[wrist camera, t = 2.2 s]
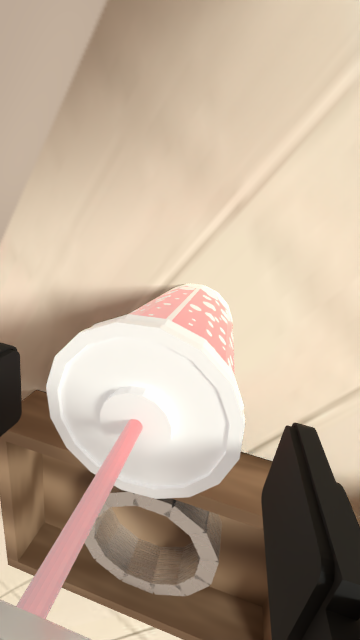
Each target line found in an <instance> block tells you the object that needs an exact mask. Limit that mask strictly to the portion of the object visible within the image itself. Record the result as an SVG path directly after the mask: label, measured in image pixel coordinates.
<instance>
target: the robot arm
mask: <svg viewBox="0 0 360 640" xmlns="http://www.w3.org/2000/svg"><path fill="white" fill-rule="evenodd" d="M21 415H22V404H21V376H20V355H19V353H18V352H17V349H16V347H14V346H11V345H7V344H4V343H0V437H1V436H2V435H3V434H4V433H6V432H7V431H8V430H9V429H10V428H12V427H13V426H14V425H15V424H16V423H17V422H18V421H19V419H20V417H21ZM261 504H262V517H263V530H264V544H265V557H266V570H267V583H268V597H269V610H270V623H271V636H272V640H360V527H359V524H358V522H357V519H356V517H355V515H354V512H353V510H352V507H351V505H350V502H349V500H348V497H347V495H346V492H345V490H344V489H343V487H342V486H341V485H340V484H339V483H336V481H335V479H334V476H333V473H332V471H331V468H330V466H329V463H328V460H327V458H326V455H325V453H324V450H323V447H322V445H321V442H320V439H319V437H318V434H317V432H316V430H315V428H313V427H309V426H306V425H302V424H298V423H293V425H292V427H291V426H286V427H285V429H284V432H283V435H282V437H281V440H280V443H279V446H278V448H277V451H276V454H275V456H274V459H273V462H272V465H271V467H270V470H269V473H268V476H267V478H266V481H265V484H264V486H263V490H262V496H261ZM0 640H91V639H89V638H87V637H84V636H82V635H80V634H78V633H75V632H73V631H71V630H69V629H66V628H64V627H62V626H59V625H57V624H55V623H53V622H50V621H48V620H46V619H44V618H41V617H39V616H37V615H35V614H32V613H30V612H28V611H25V610H23V609H21V608H18V607H16V606H14V605H12V604H9V603H7V602H5V601H2V600H0Z"/></svg>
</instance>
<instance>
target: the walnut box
mask: <svg viewBox="0 0 360 640" xmlns="http://www.w3.org/2000/svg"><path fill="white" fill-rule="evenodd" d="M21 404H22V415H21V417H20V419H19V421H18V422H17V423H16V424H15V425H14V426H13V427H12V428H10V429H9V430H8V431H7V432H6V433H4V434H3V435H2V436H1V437H0V500H1V508H2V517H3V525H4V534H5V542H6V550H7V559H8V565H10V566H12V567H15V568H17V569H20V570H22V571H24V572H27V573H29V574H31V575H34V576H35V574H36V573H37V571H38V569H39V568H40V566H41V564H42V563H43V561H44V560H45V558H46V556H47V555H48V553H49V551H50V550H51V548H52V546H53V545H54V543H55V541H56V540H57V538H58V536H59V535H60V533H61V531H62V530H63V528H64V526H65V525H66V523H67V522H68V520H69V518H70V517H71V515H72V513H73V512H74V510H75V508H76V507H77V505H78V503H79V502H80V500H81V498H82V497H83V495H84V493H85V492H86V490H87V488H88V487H89V485H90V484H91V482H92V480H93V479H94V477H95V474H93V473H92V472H90V471H89V470H88V469H87V468H86V467H85V466H84V465H83V464H82V463H81V462H80V461H79V460H78V459H77V458H76V457H75V456H74V455H73V454H72V453H71V452H70V451H69V450H68V449H67V448H66V446H65V444H64V442H63V440H62V438H61V437H60V435H59V433H58V431H57V429H56V427H55V425H54V423H53V422H52V420H51V418H50V411H49V404H48V397H47V393H45V392H42V391H38V390H36V391H34V392H33V393H32V394H30V395H29V396H28V397H27V398H25V399H24V400H23V401H21ZM271 465H272V461H269V460H265V459H262V458H259V457H256V456H252V455H249V454H246V453H242V452H241V453H240V459H239V460H238V461H237V463H236V464H235V465H234V466H233V468H232V469H231V470H230V471H229V472H228V474H227V475H226V476H225V477H224V479H223V480H222V481H221V482H220V484H218V485H216V486H214V487H211V488H209V489H207V490H205V491H202V492H200V493H198V494H196V495H194V496H191V497H185V498H172V499H175V500H178V501H180V502H183V503H186V504H189V505H192V506H195V507H198V508H201V509H204V510H207V511H209V512H212V513H215V514H218V515H219V517H220V519H221V521H222V530H221V542H220V554H219V564H218V567H217V569H216V572H215V575H214V578H213V581H212V584H210V586H208V587H206V588H204V589H202V590H200V591H197V592H195V593H193V594H191V595H189V596H186V595H185V596H171V595H155V594H154V592H153V594H152V593H149V592H147V591H144V590H142V589H139V588H137V587H134V586H132V585H130V584H127V583H125V582H122V580H119V579H118V578H117V577H115V576H114V575H113V574H112V573H110V572H109V571H108V570H107V569H105V568H104V567H103V566H102V565H100V564H99V563H98V562H97V561H96V559H94V558H93V556H92V555H91V553H90V551H89V550H88V548H87V546H86V545H85V543H84V544H83V546H82V548H81V550H80V552H79V554H78V556H77V558H76V560H75V562H74V564H73V566H72V568H71V570H70V572H69V574H68V576H67V578H66V580H65V582H64V583H63V585H62V588H64V589H66V590H69V591H71V592H73V593H76V594H78V595H80V596H83V597H85V598H87V599H90V600H92V601H94V602H97V603H99V604H101V605H104V606H106V607H108V608H111V609H113V610H115V611H118V612H120V613H122V614H125V615H127V616H129V617H132V618H134V619H137V620H139V621H141V622H144V623H146V624H148V625H151V626H153V627H155V628H158V629H160V630H162V631H165V632H167V633H169V634H172V635H174V636H176V637H179V638H181V639H183V640H272V636H271V623H270V610H269V597H268V583H267V570H266V557H265V544H264V530H263V517H262V504H261V496H262V490H263V486H264V484H265V481H266V478H267V476H268V473H269V470H270V467H271ZM111 508H112V509H113V511H114V513H115V515H116V517H117V519H118V521H119V522H120V524H122V525H123V526H124V527H125V528H126V529H128V530H129V531H130V532H131V533H133V534H134V535H135V536H136V537H137V538H139V539H142V540H144V541H147V542H150V543H152V544H155V545H158V546H160V547H185V546H187V545H188V544H190V543H192V539H191V537H190V536H189V535H188V534H187V533H186V532H184V531H183V530H182V529H181V528H180V527H178V526H177V525H176V524H175V523H174V522H172V521H171V520H170V519H169V518H167V517H166V516H164V515H161V514H158V513H155V512H153V511H150V510H147V509H144V508H141V507H139V506H122V507H111Z"/></svg>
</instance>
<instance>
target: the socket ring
mask: <svg viewBox="0 0 360 640" xmlns="http://www.w3.org/2000/svg"><path fill="white" fill-rule="evenodd" d="M122 506H139V507H141V508H144V509H147V510H150V511H153V512H155V513H158V514H161V515H164V516H166V517H167V518H169V519H170V520H171V521H172V522H174V523H175V524H176V525H177V526H178V527H180V528H181V529H182V530H183V531H184V532H186V533H187V534H188V535H189V536H190V537H191V539H192V543H190V544H188V545H187V546H185V547H160V546H158V545H155V544H152V543H150V542H147V541H144V540H142V539H139V538H137V537H136V536H135V535H134V534H133V533H131V532H130V531H129V530H128V529H126V528H125V527H124V526H123V525H122V524H120V522H119V521H118V519H117V517H116V515H115V513H114V511H113V509H112V508H111V507H122ZM221 530H222V521H221V519H220V517H219V515H218V514H215V513H212V512H209V511H207V510H204V509H201V508H198V507H195V506H192V505H189V504H186V503H183V502H180V501H178V500H175V499H172V498H164V499H154V498H150V497H147V496H143V495H139V494H135V493H131V492H128V491H124V490H121V489H119V488H117V487H116V486H113V488H112V490H111V492H110V494H109V496H108V497H107V499H106V501H105V503H104V505H103V507H102V509H101V511H100V513H99V515H98V517H97V519H96V521H95V523H94V525H93V527H92V529H91V531H90V533H89V535H88V537H87V539H86V540H85V542H84V543H85V545H86V546H87V548H88V550H89V551H90V553H91V555H92V556H93V558H94V559H96V561H97V562H98V563H99V564H100V565H102V566H103V567H104V568H105V569H107V570H108V571H109V572H110V573H112V574H113V575H114V576H115V577H117V578H118V579H119V580H122V582H125V583H127V584H130V585H132V586H134V587H137V588H139V589H142V590H144V591H147V592H149V593H152V594H153V592H154V594H155V595H171V596H185V595H186V596H189V595H191V594H193V593H195V592H197V591H200V590H202V589H204V588H206V587H208V586H210V584H212V581H213V578H214V575H215V572H216V569H217V567H218V564H219V554H220V542H221Z"/></svg>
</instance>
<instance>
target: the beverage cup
mask: <svg viewBox="0 0 360 640" xmlns="http://www.w3.org/2000/svg"><path fill="white" fill-rule="evenodd" d="M46 390H47V397H48V404H49V411H50V418H51V420H52V422H53V423H54V425H55V427H56V429H57V431H58V433H59V435H60V437H61V438H62V440H63V442H64V444H65V446H66V448H67V449H68V450H69V451H70V452H71V453H72V454H73V455H74V456H75V457H76V458H77V459H78V460H79V461H80V462H81V463H82V464H83V465H84V466H85V467H86V468H87V469H88V470H89V471H90V472H92V473H93V474H95V477H94V479H93V480H92V482H91V484H90V485H89V487H88V488H87V490H86V492H85V493H84V495H83V497H82V498H81V500H80V502H79V503H78V505H77V507H76V508H75V510H74V512H73V513H72V515H71V517H70V518H69V520H68V522H67V523H66V525H65V526H64V528H63V530H62V531H61V533H60V535H59V536H58V538H57V540H56V541H55V543H54V545H53V546H52V548H51V550H50V551H49V553H48V555H47V556H46V558H45V560H44V561H43V563H42V564H41V566H40V568H39V569H38V571H37V573H36V574H35V576H34V578H33V579H32V581H31V583H30V584H29V586H28V588H27V589H26V591H25V593H24V594H23V596H22V598H21V599H20V601H19V602H18V604H17V606H16V607H18V608H21V609H23V610H25V611H28V612H30V613H32V614H35V615H37V616H39V617H41V618H44V619H46V617H47V615H48V613H49V611H50V609H51V607H52V605H53V603H54V601H55V599H56V597H57V595H58V593H59V591H60V589H61V587H62V585H63V583H64V582H65V580H66V578H67V576H68V574H69V572H70V570H71V568H72V566H73V564H74V562H75V560H76V558H77V556H78V554H79V552H80V550H81V548H82V546H83V544H84V542H85V540H86V539H87V537H88V535H89V533H90V531H91V529H92V527H93V525H94V523H95V521H96V519H97V517H98V515H99V513H100V511H101V509H102V507H103V505H104V503H105V501H106V499H107V497H108V496H109V494H110V492H111V490H112V488H113V486H116V487H117V488H119V489H121V490H124V491H128V492H131V493H135V494H139V495H143V496H147V497H150V498H154V499H164V498H185V497H191V496H194V495H196V494H198V493H200V492H202V491H205V490H207V489H209V488H211V487H214V486H216V485H218V484H220V482H221V481H222V480H223V479H224V477H225V476H226V475H227V474H228V472H229V471H230V470H231V469H232V468H233V466H234V465H235V464H236V463H237V461H238V460H239V459H240V453H241V446H242V440H243V434H244V428H245V416H244V413H243V410H244V404H243V401H242V398H241V395H240V392H239V388H238V385H237V382H236V379H235V375H234V350H233V324H232V316H231V313H230V310H229V306H228V304H227V303H226V301H225V300H224V299H223V298H222V297H221V296H220V294H219V293H218V292H216V291H214V290H213V289H211V288H209V287H207V286H205V285H200V284H190V283H188V284H185V285H181V286H178V287H175V288H173V289H171V290H169V291H168V292H166V293H164V294H162V295H161V296H159V297H157V298H155V299H154V300H152V301H150V302H148V303H147V304H145V305H143V306H141V307H140V308H138V309H136V310H134V311H133V312H131V313H129V314H127V315H124V316H120V317H117V318H113V319H110V320H107V321H103V322H100V323H97V324H94V325H93V326H92V327H91V328H87V329H84V330H83V331H81V332H80V333H78V334H77V335H76V336H75V337H74V338H73V339H72V340H71V341H70V342H69V343H68V344H67V345H66V346H65V347H64V348H63V349H62V350H61V351H60V352H59V353H58V354H57V355H56V356H55V358H54V361H53V364H52V368H51V371H50V374H49V377H48V381H47V384H46Z"/></svg>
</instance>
